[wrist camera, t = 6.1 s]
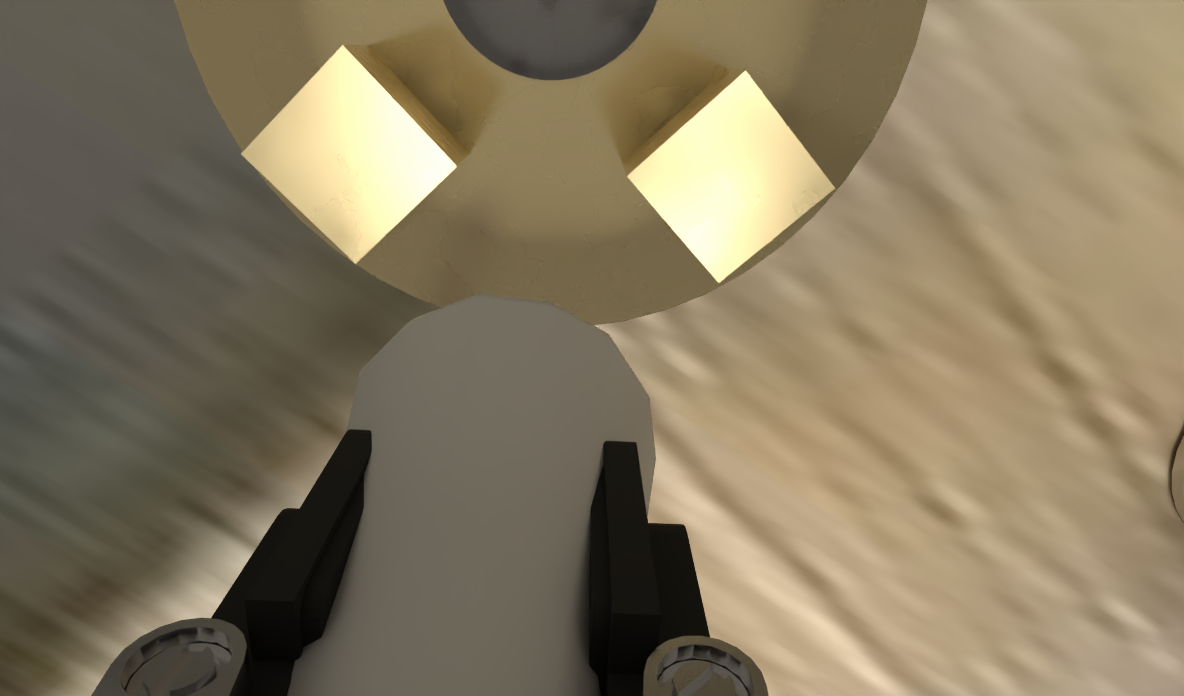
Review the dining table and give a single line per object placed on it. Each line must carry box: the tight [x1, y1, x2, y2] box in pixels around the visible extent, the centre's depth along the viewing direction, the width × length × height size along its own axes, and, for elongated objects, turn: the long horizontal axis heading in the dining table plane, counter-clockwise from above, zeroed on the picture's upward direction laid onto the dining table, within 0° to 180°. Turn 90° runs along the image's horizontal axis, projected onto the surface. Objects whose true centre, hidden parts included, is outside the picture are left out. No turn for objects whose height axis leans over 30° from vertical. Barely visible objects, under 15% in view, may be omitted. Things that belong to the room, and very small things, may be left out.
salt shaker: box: [287, 293, 656, 696], centre depth 10 cm, size 6×6×13 cm
